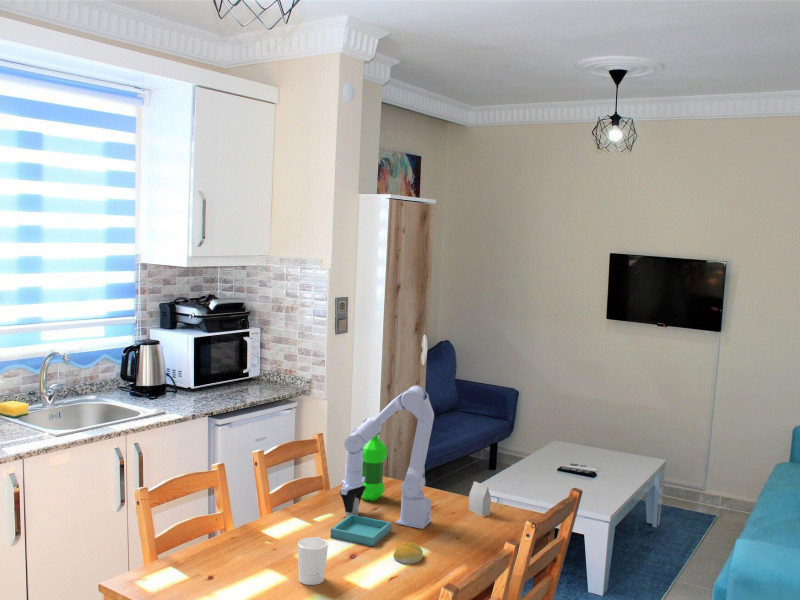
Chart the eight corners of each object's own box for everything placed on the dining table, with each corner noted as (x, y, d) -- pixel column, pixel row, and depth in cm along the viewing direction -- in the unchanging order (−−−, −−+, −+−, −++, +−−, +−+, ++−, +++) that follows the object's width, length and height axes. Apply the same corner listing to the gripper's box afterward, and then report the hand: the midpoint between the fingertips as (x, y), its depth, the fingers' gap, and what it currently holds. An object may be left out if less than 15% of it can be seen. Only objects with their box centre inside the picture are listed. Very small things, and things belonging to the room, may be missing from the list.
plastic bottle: (357, 492, 271) (361, 423, 269) (386, 494, 270) (390, 426, 268) (353, 501, 261) (356, 430, 259) (383, 504, 260) (387, 433, 258)
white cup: (297, 572, 204) (298, 536, 203) (326, 573, 204) (328, 537, 204) (295, 586, 196) (297, 549, 195) (326, 586, 197) (327, 549, 196)
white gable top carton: (481, 517, 253) (483, 487, 252) (468, 510, 258) (470, 482, 258) (489, 515, 255) (491, 486, 254) (476, 508, 261) (478, 480, 260)
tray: (390, 530, 237) (391, 522, 236) (372, 546, 224) (372, 537, 223) (350, 522, 242) (351, 514, 242) (330, 537, 229) (330, 528, 229)
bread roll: (391, 563, 214) (392, 549, 213) (397, 550, 222) (397, 537, 222) (420, 566, 212) (420, 552, 212) (424, 554, 221) (425, 540, 221)
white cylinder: (360, 513, 251) (361, 498, 250) (354, 517, 247) (355, 502, 246) (348, 510, 252) (349, 496, 252) (342, 514, 248) (343, 499, 248)
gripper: (352, 462, 256) (350, 500, 257) (332, 473, 243) (331, 514, 244) (371, 465, 254) (369, 504, 255) (352, 476, 240) (350, 518, 241)
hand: (351, 509), depth 249 cm, fingers closed on white cylinder, 4 cm apart
